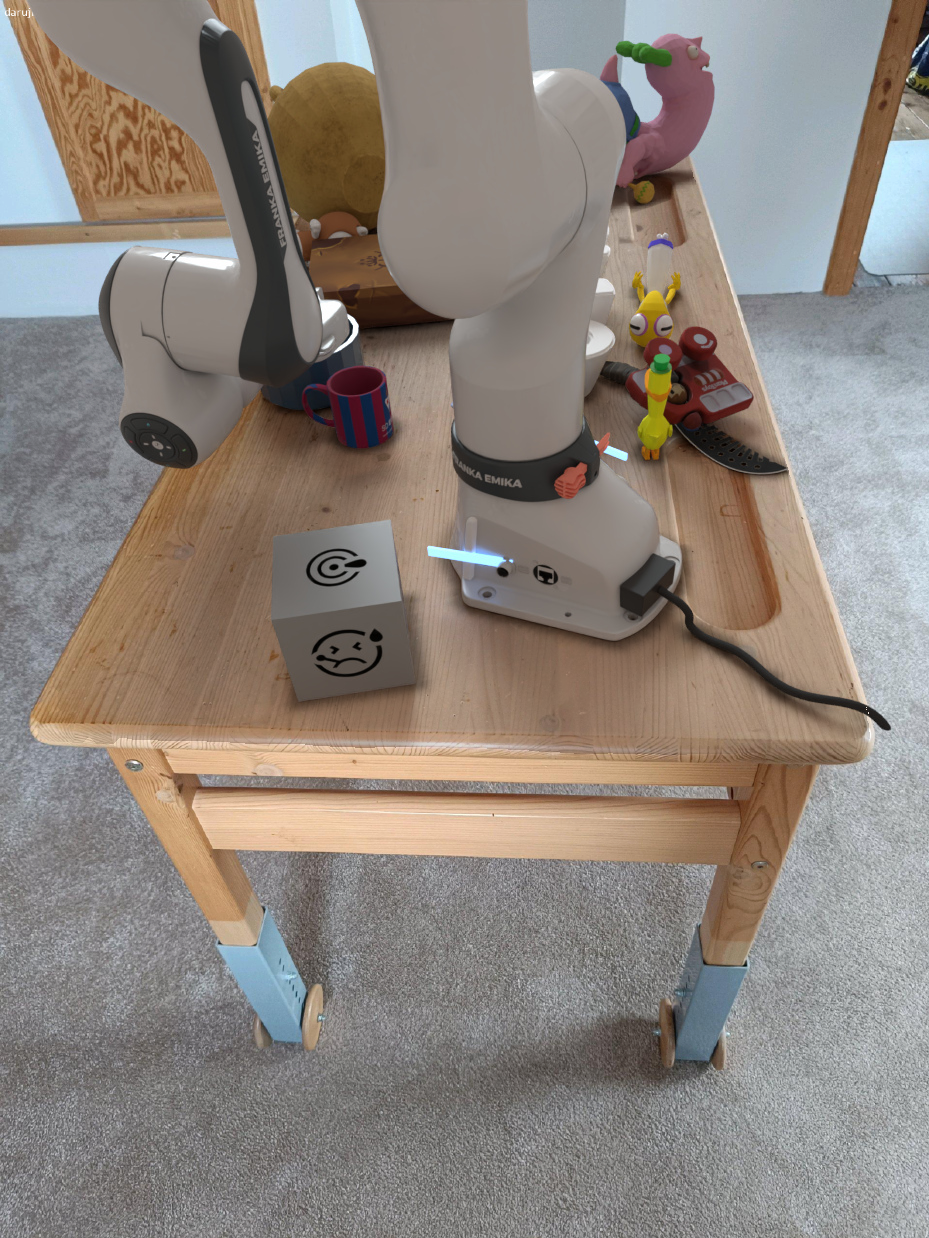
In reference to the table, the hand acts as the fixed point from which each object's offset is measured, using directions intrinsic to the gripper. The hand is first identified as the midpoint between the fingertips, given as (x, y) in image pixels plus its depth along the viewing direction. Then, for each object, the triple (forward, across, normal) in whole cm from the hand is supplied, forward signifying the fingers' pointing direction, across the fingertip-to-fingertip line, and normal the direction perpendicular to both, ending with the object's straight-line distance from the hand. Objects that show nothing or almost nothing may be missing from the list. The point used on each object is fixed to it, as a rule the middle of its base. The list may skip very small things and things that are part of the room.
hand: (277, 292), depth 94 cm
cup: (-5, -8, +14) cm, 17 cm away
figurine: (+34, +14, +10) cm, 37 cm away
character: (+25, -41, +14) cm, 50 cm away
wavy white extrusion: (+17, -28, +14) cm, 36 cm away
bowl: (+4, 0, +14) cm, 15 cm away
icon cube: (-38, -18, +14) cm, 45 cm away
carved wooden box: (+28, -4, +14) cm, 32 cm away
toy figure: (-6, -42, +14) cm, 45 cm away
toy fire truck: (+6, -42, +9) cm, 44 cm away
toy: (+70, -20, -1) cm, 73 cm away
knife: (-1, -43, +14) cm, 45 cm away
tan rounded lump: (+43, +2, +4) cm, 43 cm away
